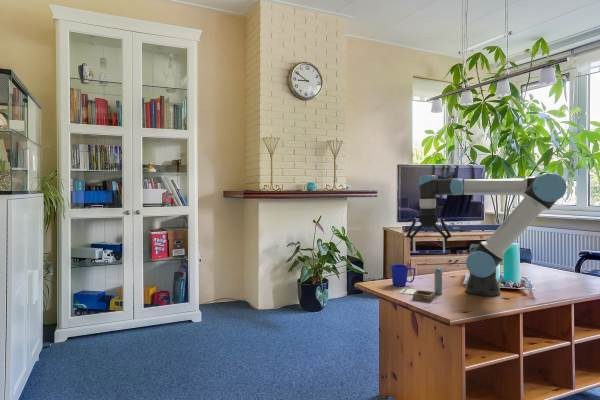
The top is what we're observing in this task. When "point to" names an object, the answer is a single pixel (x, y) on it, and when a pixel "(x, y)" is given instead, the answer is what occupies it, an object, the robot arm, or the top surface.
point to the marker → (438, 282)
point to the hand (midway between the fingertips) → (428, 252)
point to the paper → (407, 291)
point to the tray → (424, 296)
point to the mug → (400, 275)
